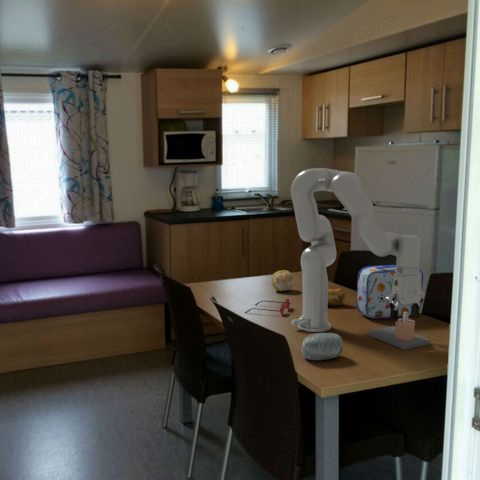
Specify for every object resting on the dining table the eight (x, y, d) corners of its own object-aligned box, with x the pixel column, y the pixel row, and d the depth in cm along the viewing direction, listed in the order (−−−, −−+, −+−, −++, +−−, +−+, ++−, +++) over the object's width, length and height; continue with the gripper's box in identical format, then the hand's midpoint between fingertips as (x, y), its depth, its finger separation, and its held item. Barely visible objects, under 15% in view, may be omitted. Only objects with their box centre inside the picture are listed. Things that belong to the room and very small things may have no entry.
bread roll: (320, 309, 244) (321, 291, 242) (310, 303, 253) (311, 286, 251) (347, 306, 248) (348, 288, 246) (336, 301, 257) (337, 283, 255)
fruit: (267, 290, 277) (267, 269, 276) (287, 287, 282) (287, 267, 280) (277, 294, 268) (278, 273, 267) (297, 292, 273) (298, 271, 271)
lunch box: (412, 309, 242) (414, 258, 239) (426, 316, 233) (429, 263, 229) (353, 315, 235) (354, 262, 231) (365, 322, 225) (367, 267, 221)
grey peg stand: (404, 349, 194) (405, 318, 192) (368, 334, 209) (369, 305, 208) (430, 343, 199) (431, 313, 198) (393, 329, 215) (394, 301, 213)
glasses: (282, 317, 233) (282, 305, 232) (244, 313, 239) (244, 302, 238) (291, 308, 246) (291, 297, 245) (255, 305, 251) (255, 294, 251)
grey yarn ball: (338, 340, 193) (336, 320, 187) (348, 362, 186) (346, 341, 179) (299, 351, 192) (296, 331, 186) (307, 373, 185) (304, 353, 179)
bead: (404, 341, 197) (404, 325, 196) (391, 336, 203) (391, 320, 202) (418, 338, 200) (418, 322, 199) (404, 333, 206) (405, 317, 205)
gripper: (396, 275, 191) (393, 324, 193) (433, 270, 199) (430, 318, 201) (380, 270, 197) (378, 318, 200) (417, 266, 205) (414, 312, 208)
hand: (404, 318), depth 201 cm, fingers open, 9 cm apart
